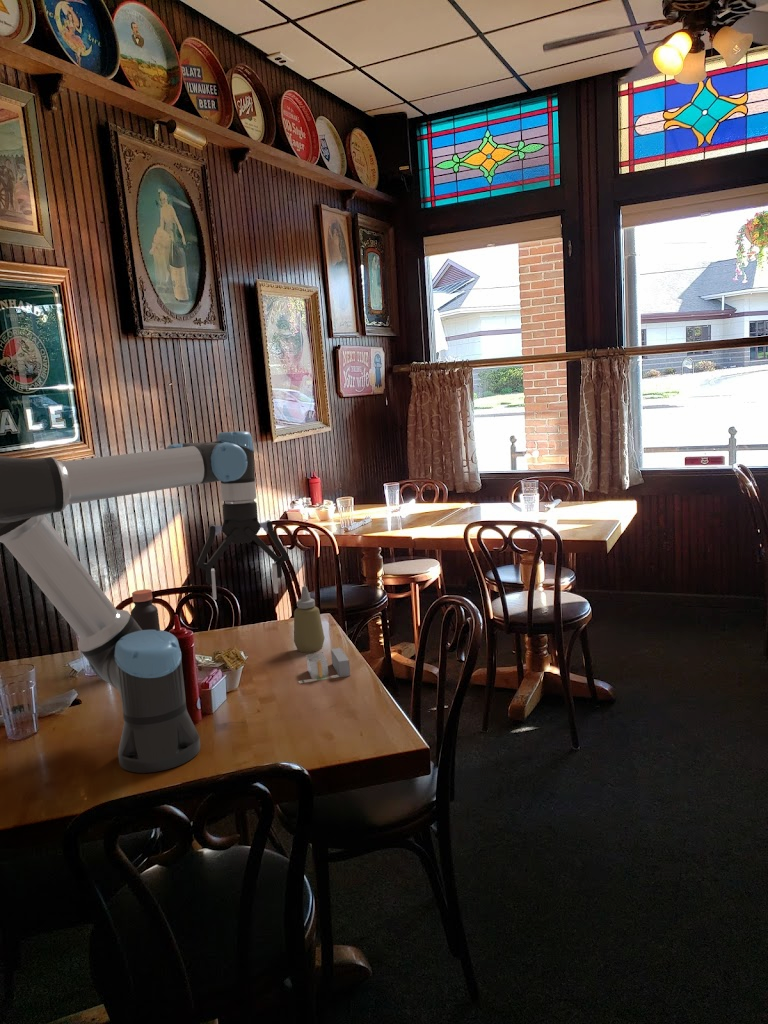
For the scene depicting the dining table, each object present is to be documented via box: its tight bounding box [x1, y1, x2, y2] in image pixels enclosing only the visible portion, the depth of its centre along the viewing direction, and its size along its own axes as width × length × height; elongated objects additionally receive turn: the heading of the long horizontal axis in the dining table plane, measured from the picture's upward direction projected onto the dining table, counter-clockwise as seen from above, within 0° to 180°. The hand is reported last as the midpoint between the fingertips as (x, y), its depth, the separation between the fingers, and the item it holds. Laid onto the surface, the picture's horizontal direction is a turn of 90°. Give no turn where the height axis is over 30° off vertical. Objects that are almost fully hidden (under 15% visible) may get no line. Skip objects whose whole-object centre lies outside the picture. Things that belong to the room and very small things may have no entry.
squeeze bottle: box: [293, 586, 325, 653], centre depth 200 cm, size 8×8×18 cm
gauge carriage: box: [305, 652, 330, 679], centre depth 180 cm, size 7×4×4 cm, turn 15°
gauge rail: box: [298, 647, 351, 684], centre depth 181 cm, size 10×15×5 cm, turn 105°
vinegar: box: [130, 588, 161, 631], centre depth 199 cm, size 7×7×20 cm
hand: (245, 595), depth 171 cm, fingers open, 13 cm apart
